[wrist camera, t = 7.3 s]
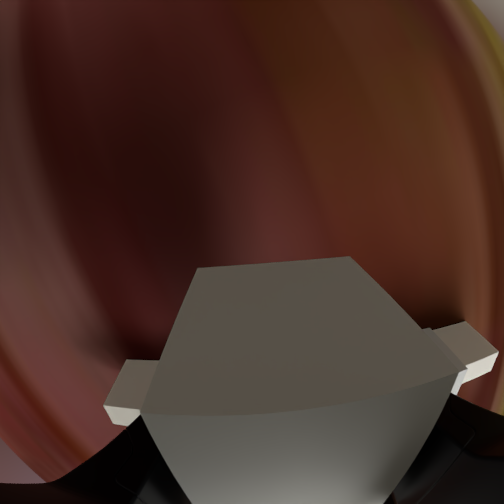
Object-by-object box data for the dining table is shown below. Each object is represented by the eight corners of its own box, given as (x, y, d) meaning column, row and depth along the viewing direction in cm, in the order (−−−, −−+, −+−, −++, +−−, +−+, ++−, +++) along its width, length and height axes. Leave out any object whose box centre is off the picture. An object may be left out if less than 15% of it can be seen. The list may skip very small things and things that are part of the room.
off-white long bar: (459, 342, 16) (493, 378, 11) (134, 380, 16) (112, 433, 11) (466, 317, 15) (504, 352, 11) (125, 356, 15) (97, 408, 11)
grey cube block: (336, 396, 10) (374, 513, 5) (222, 408, 10) (213, 533, 5) (349, 256, 9) (459, 371, 3) (197, 267, 9) (140, 412, 3)
